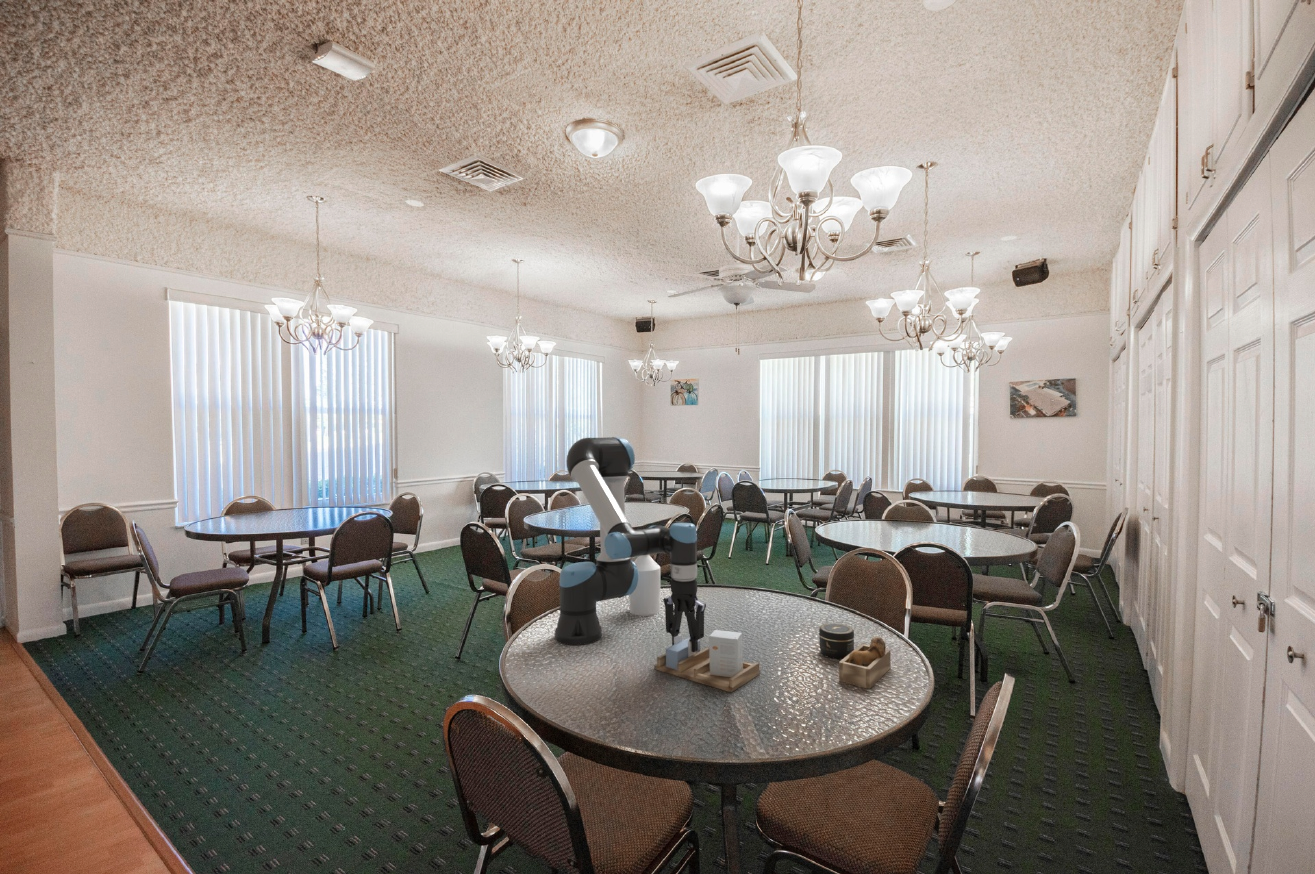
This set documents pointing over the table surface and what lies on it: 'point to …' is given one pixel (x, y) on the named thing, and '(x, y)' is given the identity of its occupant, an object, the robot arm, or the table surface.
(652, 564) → the bottle
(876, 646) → the lion figurine
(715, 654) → the small box
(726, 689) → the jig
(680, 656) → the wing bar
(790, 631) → the table surface
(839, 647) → the jar
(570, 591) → the robot arm
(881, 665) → the open wooden box
